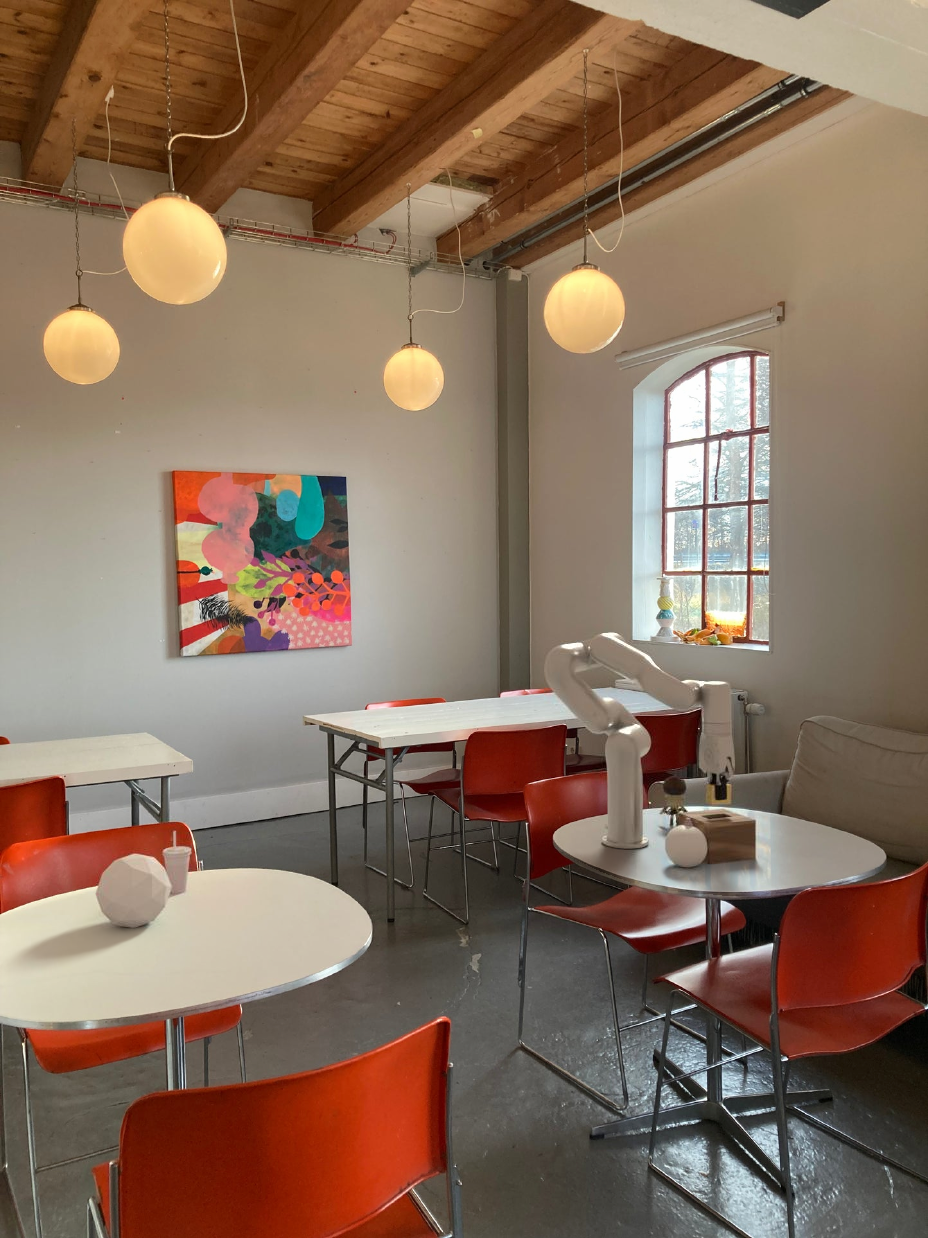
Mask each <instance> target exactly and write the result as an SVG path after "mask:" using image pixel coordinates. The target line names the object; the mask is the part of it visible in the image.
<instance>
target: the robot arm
mask: <svg viewBox="0 0 928 1238" xmlns="http://www.w3.org/2000/svg"><path fill="white" fill-rule="evenodd" d="M599 667H604V668H607V669H608V670H609V671H612V672H614V673H616V675H617V674H618V675H619V676H620V677H622V678H625V680H628V681H630V682H632V683H633V684H634V685H635V686H636V687H638V688H639V689H640V690H642V691H643V692H644V693H646V694H647V695H648V696H650V697H651V698H653V699H655V700H656V701H658V702H660V703H661V704H663V705H665V706H667V707H669V708H671V709H672V710H673V709H674V710H675V711H680V712H685V711H688V710H691V709H694V708H698V707H700V708H701V733H700V738H699V747H698V767H699V769H700V770H701V771H702V772H703V773H704V774H705V775H706V777H707V782H708V783H707V784H717V785H715V791H716V800H726V799H727V785H728V784H729V782H730V780H731V779H734V777H735V776H734V772H735V768H736V762H735V760H736V759H735V758H736V757H735V748H734V746H735V745H734V740H733V734H732V733H733V729H732V728H733V726H732V725H733V723H732V718H733V717H732V688H731V684H730V683H729V682H727V681H719V680H718V681H717V680H715V681H699V680H693V679H686V680H679V679H677V678H676V677H674V676H672V675H671V674H668V673H666V672H665V671H663V670H662V669H661V668H659V666H657V665H656V664H655V662H654V660H653V658H652V657H651V656H649V654H647V653H645V652H643V651H641V650H639V649H638V648H635V647H633V646H632V645H630V644H628V643H627V641H626V640H625V638H624V637H623V636H622V635H620V634H618V633H615V632H604V633H599V634H597V635H595V636H594V637H593V638H590V639H586V640H581V641H578V642H574V643H564V644H563V643H562V644H560V645H557V646H555V647H553V648H552V649H551V650H550V651H549V652H548V654H547V655H546V658H545V660H544V668H543V669H544V670H543V671H544V676H545V680H546V682H547V685H548V687H549V688H550V690H551V691H552V692H553V694H554V695H556V696H557V698H558V699H559V700H560V701H561V702H562V703H563V704H564V705H565V706H566V708H568V710H569V711H570V712H571V713H572V714H573V715H574V716H575V717H576V718H577V719H578V720H579V721H580V723H581V724H582V725H583V726H584V727H585V728H586V729H587V730H588V731H589V732H591V733H592V734H595V735H601V734H605V735H607V740H606V743H605V746H604V748H605V749H604V752H605V753H604V755H605V763H606V771H607V773H606V774H607V776H606V777H607V778H606V779H607V824H605V825H604V828H605V829H606V830H607V834H606V835H604V836H602V839H601V842H602V844H604V845H605V846H608V847H611V848H615V849H625V850H627V849H630V850H631V849H642V848H644V847H645V848H646V847H647V846H648V845H649V844H650V843H649V839H648V838H647V837H645V836H644V833H643V832H644V831H643V830H644V827H643V826H644V825H643V823H644V821H643V819H644V817H643V816H644V813H643V812H644V811H643V810H644V808H643V807H644V805H643V804H644V803H643V802H644V797H643V795H644V794H643V793H644V790H643V788H644V787H643V783H644V782H643V781H644V780H643V779H644V778H643V769H642V761H641V758H642V757H644V756H645V755H647V754H648V752H649V750H650V749H651V744H652V740H651V739H652V738H651V736H650V734H649V732H648V730H647V729H646V728H645V727H644V726H643V724H641V722H640V721H639V720H638V719H637V718H636V717H635V716H634V715H633V714H632V713H631V712H630V711H629V710H628V709H627V708H626V707H625V706H624V705H623V704H622V703H621V702H619V701H618V700H616V699H614V698H611V697H600V695H598V694H597V693H596V692H595V690H593V688H591V687H590V686H589V684H588V683H586V682H585V681H584V680H583V679H581V678H580V677H579V676H578V675H577V673H580V672H584V671H588V670H592V669H595V668H599Z"/></svg>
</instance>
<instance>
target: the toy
mask: <svg viewBox="0 0 928 1238" xmlns="http://www.w3.org/2000/svg"><path fill="white" fill-rule="evenodd" d="M662 790H663V792H664V793H665V794H664V798H665V800H664V801H665V802H667V803H666V805H665V806H664V807H663V808H662V809H660V812H659V815H663V814H664V815H665V814H666V816H667V815H668V816H670V819H669V825H670V826H674V818H675V826H676V827H677V826H679V813H680V812H689V811H688V810H687V809H686V808H685V807H684V805H683V802H685V797H686V796H685V793H686V790H687V783H686V782H685V780H684V779H682V778H681V777H679V776H677V775H671V776H669V777H668V778H665V779H664V781H663V783H662ZM667 809H668V810H667ZM674 815H675V817H674Z"/></svg>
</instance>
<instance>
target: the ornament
mask: <svg viewBox="0 0 928 1238" xmlns="http://www.w3.org/2000/svg"><path fill="white" fill-rule="evenodd" d="M687 823H689V824H687ZM664 849H665V853H666V855H667V858H668V859H669V860H670V862H672V863H673V864H675V865H677V866H678V867H682V868H692V867H696V866H699V865H700V864H701V863H703V862H704V861H703V860H704V858H705V856H706V854H707V841H706V838H705V836H704V835H703V833H702V832H701V831H700V830H699V829H697V828H696V827H693V825H692V822H691V819H690V818H686V820H685V823H684V825H680V826H677V825H676V826H675V827H673V828H672V829H670V830H669V832H668V833H667V834H666V837H665V843H664Z"/></svg>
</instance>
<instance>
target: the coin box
mask: <svg viewBox="0 0 928 1238" xmlns="http://www.w3.org/2000/svg"><path fill="white" fill-rule="evenodd" d="M678 814H679V826H680V825H684V823H685V820H686V818H690V819H691V822H692V825H693V827H696V828H697V829H699V830H700V831H701V832H702V833H703V835H704V836H705V838H706V841H707V854H706V856H705V858H704V860H703V861H702V862H704V863H707V864H709V865H712V864H719V863H721V864H722V863H728V862H737V861H744V860H745V861H746V860H747V861H748V860H755V859H757V856H756V855H757V853H756V852H757V850H756V849H757V845H756V844H757V842H756V839H757V836H756V835H757V832H756V831H757V829H756V828H757V825H756V824H757V820H756V819H754V818H751V817H748V816H745V815H743V814H740V813H737V812H733V811H731V810H728V809H725V808H716V809H705V810H704V809H703V810H694V811H692V810H691V811H688V812H683V811H681V812H679V813H678ZM687 824H689V823H687Z"/></svg>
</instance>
